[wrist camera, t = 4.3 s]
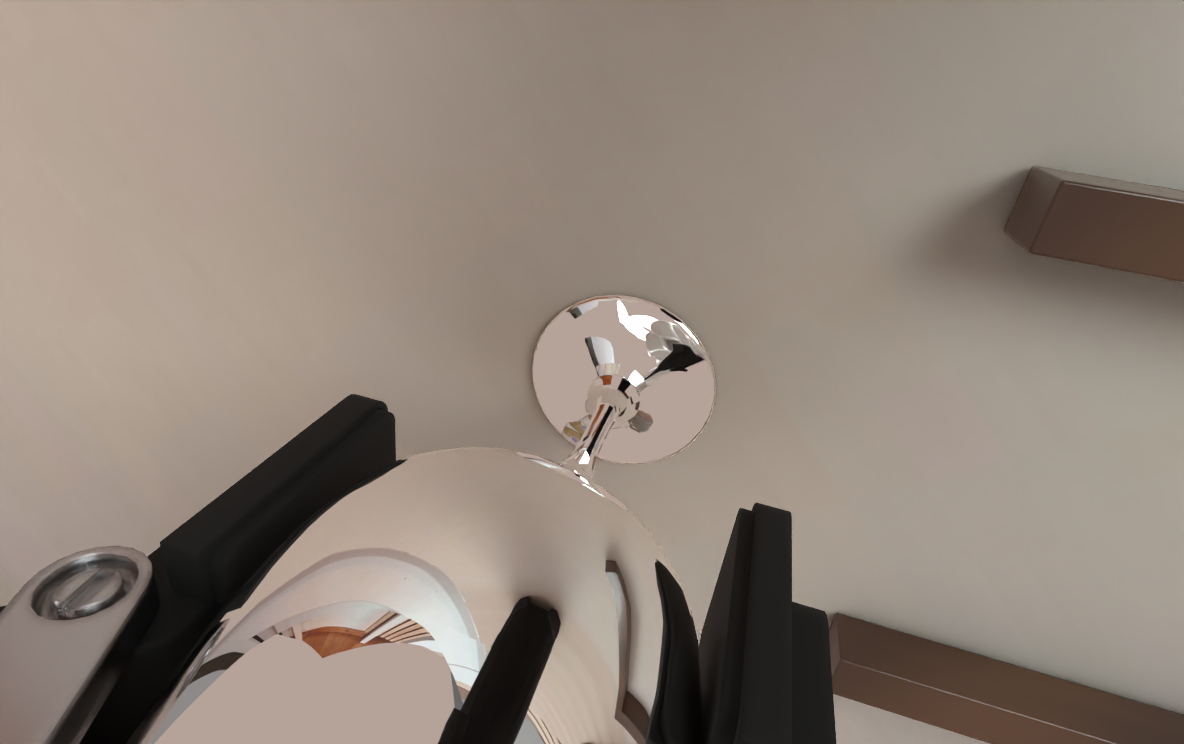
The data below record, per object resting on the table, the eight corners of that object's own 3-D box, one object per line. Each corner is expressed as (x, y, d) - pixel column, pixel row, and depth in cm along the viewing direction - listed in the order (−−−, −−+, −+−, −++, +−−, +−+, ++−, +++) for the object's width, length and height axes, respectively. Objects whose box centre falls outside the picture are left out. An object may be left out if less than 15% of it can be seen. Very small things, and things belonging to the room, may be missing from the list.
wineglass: (467, 314, 16) (-156, 823, 5) (689, 226, 13) (342, 822, 3) (569, 504, 17) (245, 1167, 7) (780, 455, 15) (760, 1336, 5)
